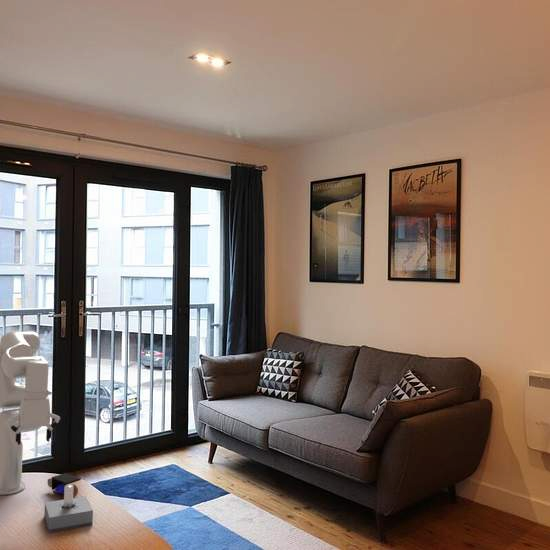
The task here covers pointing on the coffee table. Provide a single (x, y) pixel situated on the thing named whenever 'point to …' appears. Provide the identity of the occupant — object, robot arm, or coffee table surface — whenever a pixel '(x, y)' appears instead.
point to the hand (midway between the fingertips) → (33, 442)
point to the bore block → (68, 514)
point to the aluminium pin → (68, 496)
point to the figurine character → (63, 483)
